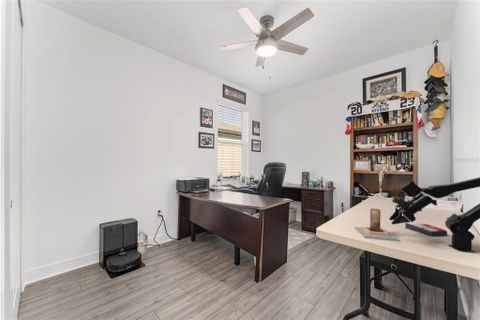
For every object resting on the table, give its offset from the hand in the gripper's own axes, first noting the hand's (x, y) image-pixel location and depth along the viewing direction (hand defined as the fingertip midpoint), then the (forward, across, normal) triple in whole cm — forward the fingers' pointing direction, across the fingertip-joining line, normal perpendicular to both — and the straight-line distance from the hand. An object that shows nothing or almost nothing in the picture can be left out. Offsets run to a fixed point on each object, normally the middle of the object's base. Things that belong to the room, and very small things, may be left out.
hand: (390, 221), depth 107 cm
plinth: (+11, 0, +1) cm, 11 cm away
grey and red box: (-7, -24, +20) cm, 32 cm away
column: (+10, 0, 0) cm, 10 cm away
